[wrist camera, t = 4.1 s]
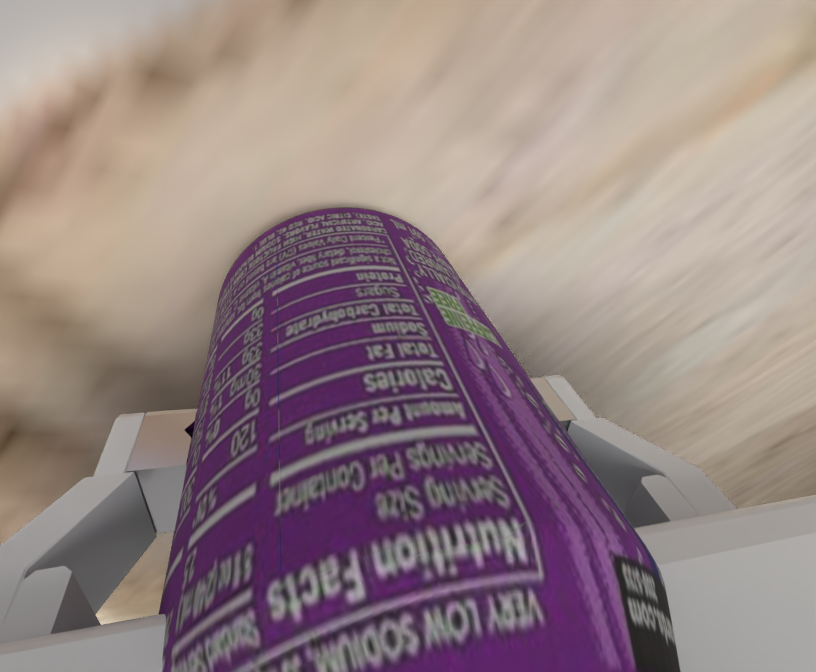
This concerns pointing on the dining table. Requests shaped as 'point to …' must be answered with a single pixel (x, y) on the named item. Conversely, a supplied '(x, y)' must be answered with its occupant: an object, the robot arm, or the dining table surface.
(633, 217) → the dining table surface
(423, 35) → the dining table surface
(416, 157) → the dining table surface
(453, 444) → the beverage can
